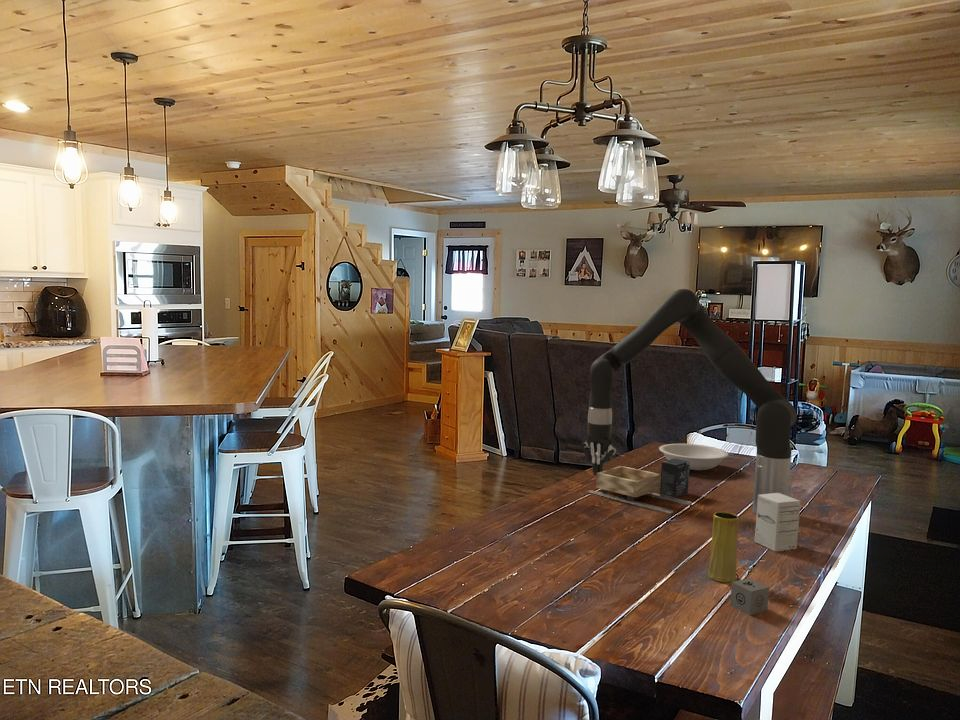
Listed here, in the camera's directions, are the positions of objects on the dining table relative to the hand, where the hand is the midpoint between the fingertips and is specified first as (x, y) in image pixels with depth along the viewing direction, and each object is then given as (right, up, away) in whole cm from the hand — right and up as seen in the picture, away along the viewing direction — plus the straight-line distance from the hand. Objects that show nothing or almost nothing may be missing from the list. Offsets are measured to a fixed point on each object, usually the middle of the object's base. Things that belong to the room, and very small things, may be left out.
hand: (597, 474), depth 230 cm
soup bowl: (+39, -3, +31) cm, 50 cm away
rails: (+11, -6, -10) cm, 16 cm away
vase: (+17, -12, -69) cm, 72 cm away
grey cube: (+17, -14, -84) cm, 87 cm away
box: (+23, -6, -3) cm, 24 cm away
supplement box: (+37, -11, -47) cm, 61 cm away
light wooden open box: (+8, -5, -7) cm, 12 cm away
